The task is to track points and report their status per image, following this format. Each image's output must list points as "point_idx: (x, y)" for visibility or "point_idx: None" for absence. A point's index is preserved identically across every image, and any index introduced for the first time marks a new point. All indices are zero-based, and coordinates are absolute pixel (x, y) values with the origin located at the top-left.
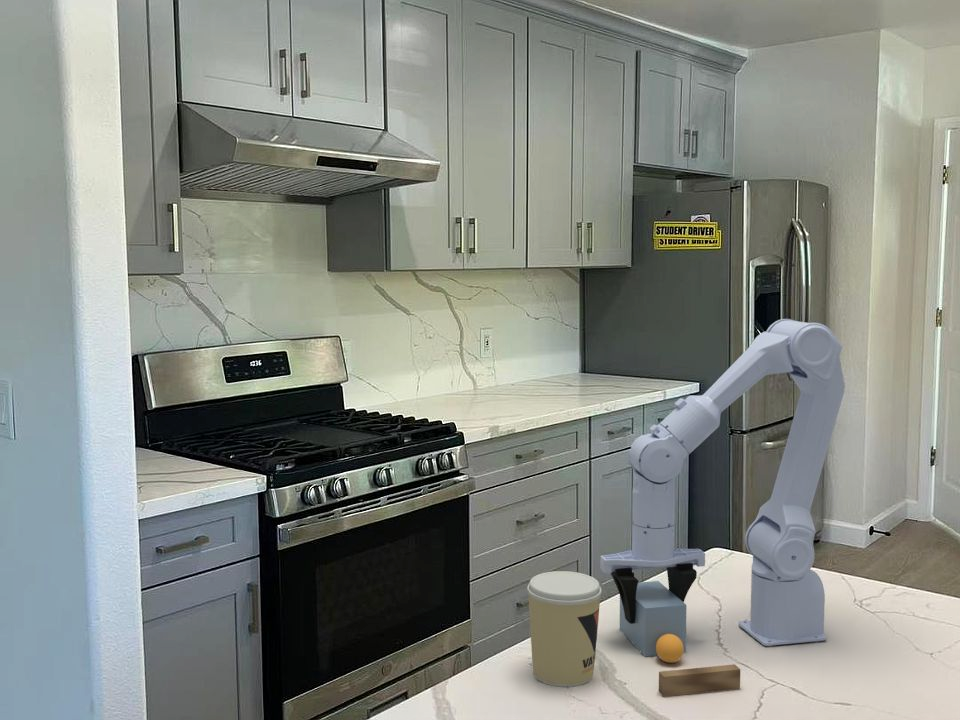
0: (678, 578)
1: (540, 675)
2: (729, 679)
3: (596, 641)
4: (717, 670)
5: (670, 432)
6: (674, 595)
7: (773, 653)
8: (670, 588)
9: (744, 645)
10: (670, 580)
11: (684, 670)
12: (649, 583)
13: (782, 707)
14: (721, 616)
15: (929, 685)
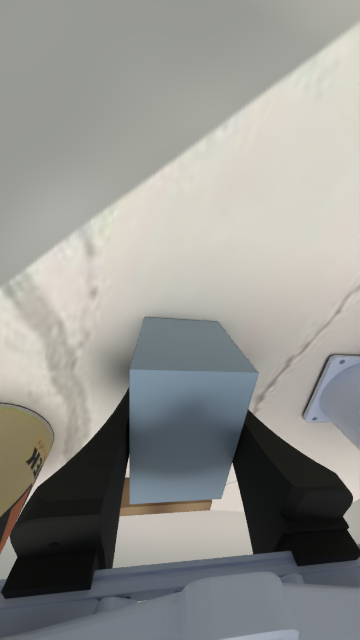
0: (254, 529)
1: None
2: None
3: (22, 507)
4: (184, 510)
5: None
6: (230, 461)
7: (296, 429)
8: (246, 437)
9: (284, 407)
10: (256, 460)
11: (147, 507)
12: (221, 385)
13: (218, 506)
14: (339, 313)
15: (355, 491)
